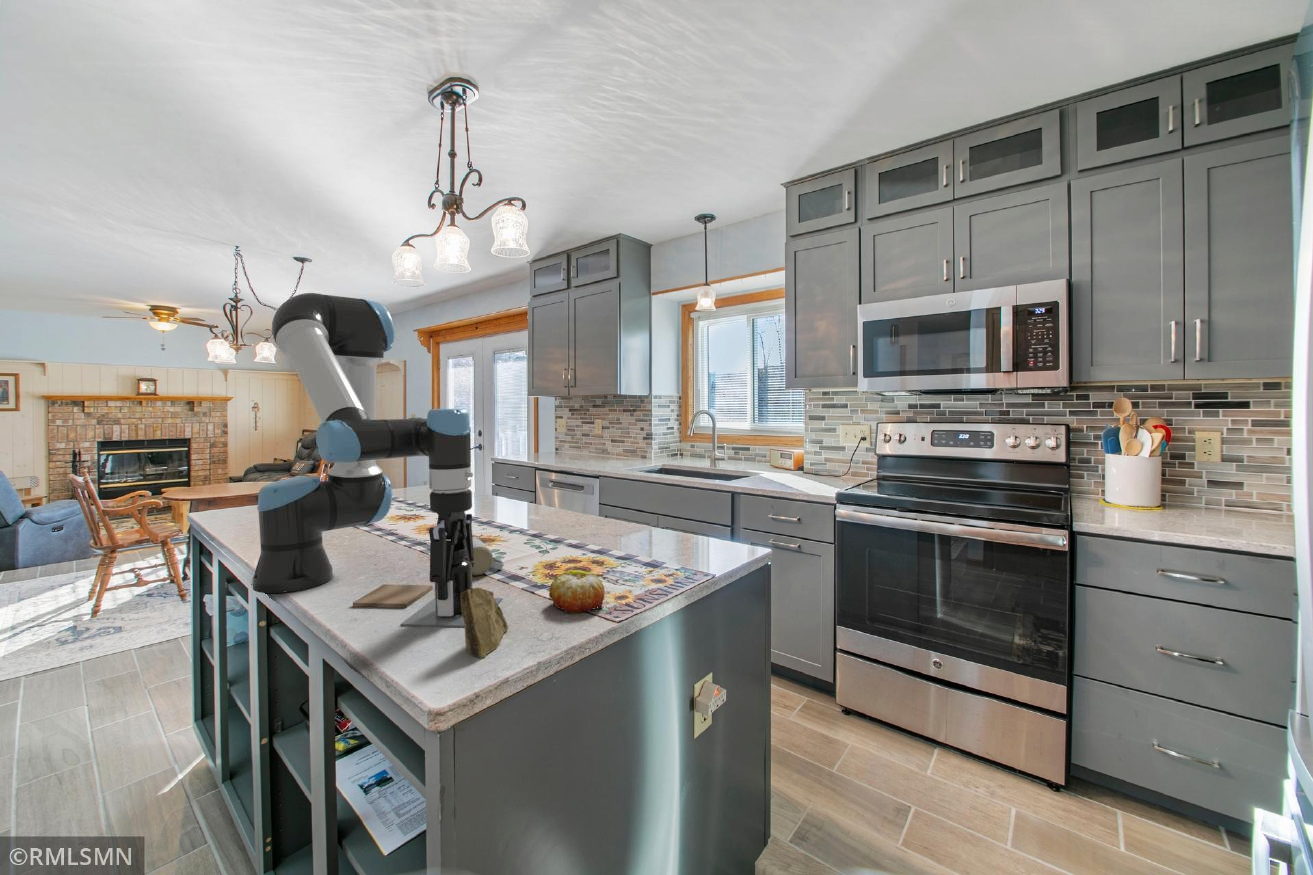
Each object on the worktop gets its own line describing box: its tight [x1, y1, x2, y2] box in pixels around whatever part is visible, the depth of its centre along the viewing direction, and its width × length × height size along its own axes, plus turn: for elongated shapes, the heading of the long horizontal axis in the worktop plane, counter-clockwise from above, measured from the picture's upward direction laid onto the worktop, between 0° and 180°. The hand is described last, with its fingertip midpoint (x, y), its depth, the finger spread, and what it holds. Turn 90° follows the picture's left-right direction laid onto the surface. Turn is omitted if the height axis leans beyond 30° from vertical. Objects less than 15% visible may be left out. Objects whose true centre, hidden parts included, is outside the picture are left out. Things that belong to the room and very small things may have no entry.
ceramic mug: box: [472, 537, 505, 577], centre depth 133 cm, size 11×8×8 cm
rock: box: [461, 587, 509, 659], centre depth 94 cm, size 11×9×10 cm
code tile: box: [400, 597, 504, 628], centre depth 107 cm, size 14×14×1 cm
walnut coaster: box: [352, 584, 433, 609], centre depth 115 cm, size 11×11×1 cm
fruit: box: [548, 569, 606, 614], centre depth 111 cm, size 11×10×8 cm
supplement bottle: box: [434, 546, 473, 616], centre depth 107 cm, size 7×7×12 cm
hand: (454, 607), depth 107 cm, fingers closed on supplement bottle, 7 cm apart
